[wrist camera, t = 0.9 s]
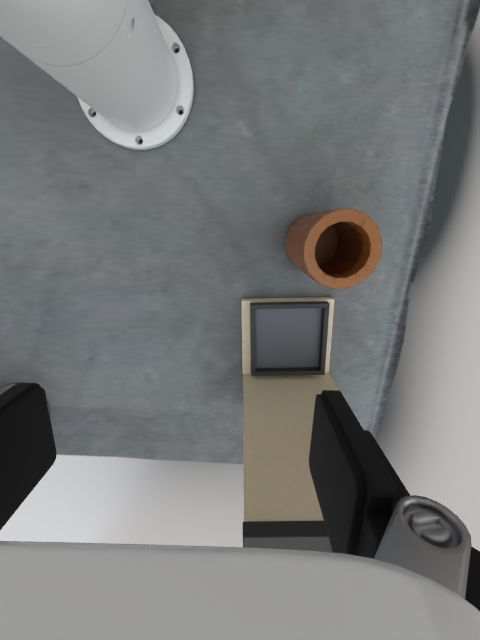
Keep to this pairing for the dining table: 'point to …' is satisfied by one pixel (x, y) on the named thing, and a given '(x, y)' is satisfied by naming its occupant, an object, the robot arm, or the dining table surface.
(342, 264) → the brown hollow cylinder
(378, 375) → the dining table surface
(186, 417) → the dining table surface
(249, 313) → the coffee maker
